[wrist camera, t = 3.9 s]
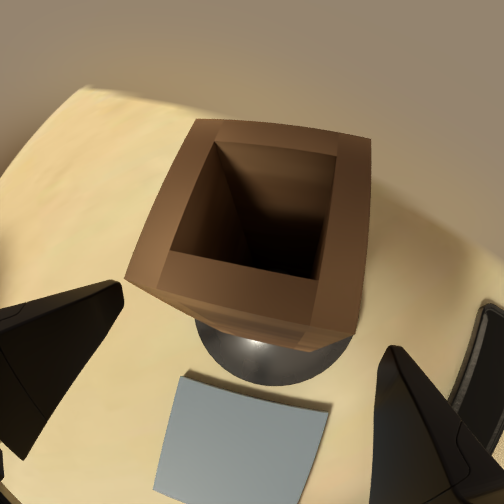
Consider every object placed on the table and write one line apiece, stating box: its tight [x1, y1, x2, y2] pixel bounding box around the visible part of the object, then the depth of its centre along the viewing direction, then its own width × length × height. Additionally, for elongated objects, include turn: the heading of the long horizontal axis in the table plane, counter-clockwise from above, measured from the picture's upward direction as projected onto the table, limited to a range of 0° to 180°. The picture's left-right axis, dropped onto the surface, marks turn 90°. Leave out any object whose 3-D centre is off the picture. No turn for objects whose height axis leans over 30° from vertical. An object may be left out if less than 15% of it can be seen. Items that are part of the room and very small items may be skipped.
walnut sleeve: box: [124, 119, 371, 352], centre depth 12 cm, size 6×6×12 cm
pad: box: [153, 376, 328, 504], centre depth 15 cm, size 10×10×1 cm
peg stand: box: [195, 269, 359, 386], centre depth 17 cm, size 11×11×4 cm
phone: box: [447, 303, 504, 455], centre depth 13 cm, size 8×1×15 cm
